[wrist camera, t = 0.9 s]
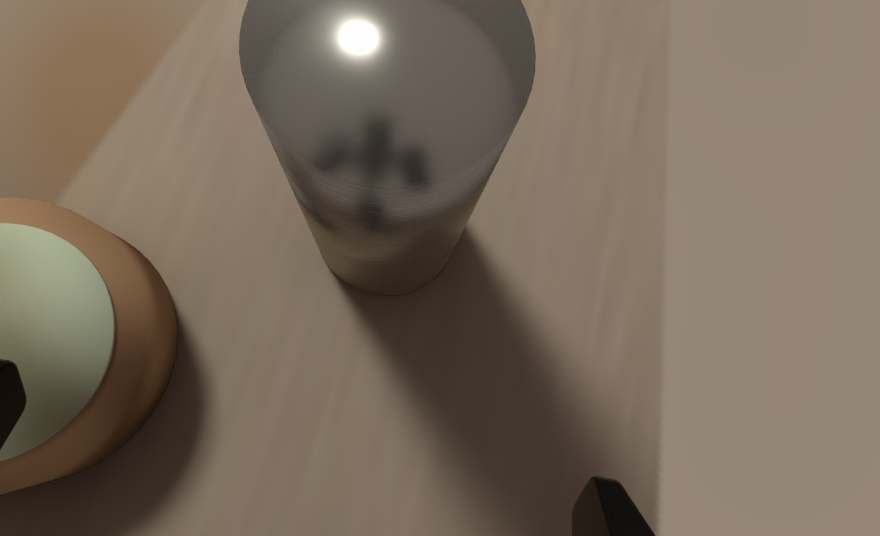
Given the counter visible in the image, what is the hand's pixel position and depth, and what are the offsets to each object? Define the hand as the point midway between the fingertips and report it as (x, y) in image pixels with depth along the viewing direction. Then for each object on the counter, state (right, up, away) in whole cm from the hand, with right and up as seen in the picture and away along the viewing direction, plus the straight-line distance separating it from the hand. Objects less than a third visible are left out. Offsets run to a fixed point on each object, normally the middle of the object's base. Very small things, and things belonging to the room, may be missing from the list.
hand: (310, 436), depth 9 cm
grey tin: (0, +4, +15) cm, 16 cm away
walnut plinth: (-13, 0, +13) cm, 18 cm away
